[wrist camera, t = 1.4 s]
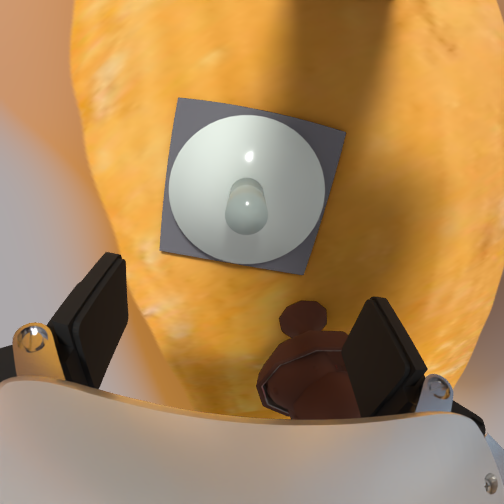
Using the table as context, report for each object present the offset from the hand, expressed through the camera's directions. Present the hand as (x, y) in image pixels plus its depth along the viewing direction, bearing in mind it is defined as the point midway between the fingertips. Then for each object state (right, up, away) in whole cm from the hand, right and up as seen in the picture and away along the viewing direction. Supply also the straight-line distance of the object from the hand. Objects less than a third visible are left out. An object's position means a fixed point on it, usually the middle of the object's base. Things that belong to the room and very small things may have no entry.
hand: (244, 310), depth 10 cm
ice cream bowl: (+6, -5, +21) cm, 22 cm away
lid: (0, +7, +13) cm, 15 cm away
